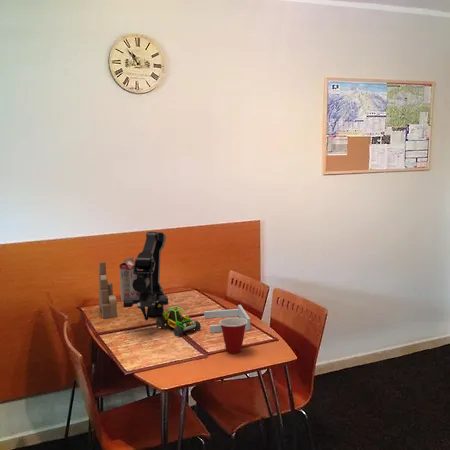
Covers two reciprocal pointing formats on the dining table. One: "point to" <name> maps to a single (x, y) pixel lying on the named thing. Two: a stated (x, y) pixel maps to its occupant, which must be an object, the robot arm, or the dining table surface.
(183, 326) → the motor vehicle
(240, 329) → the plastic cup
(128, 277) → the milk carton
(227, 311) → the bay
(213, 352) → the dining table surface
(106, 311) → the wooden toy
